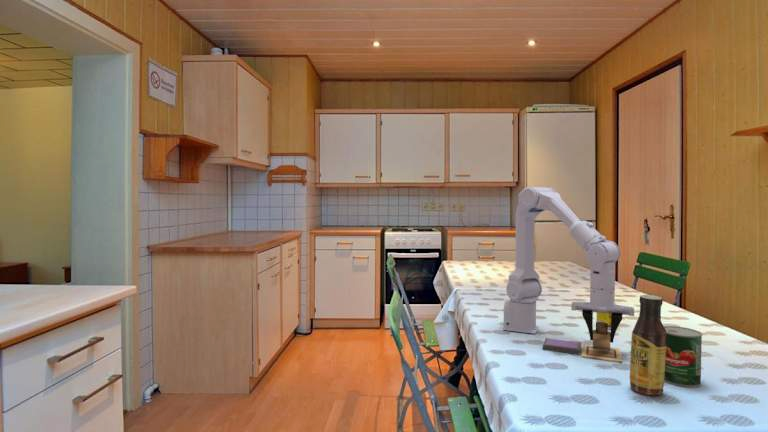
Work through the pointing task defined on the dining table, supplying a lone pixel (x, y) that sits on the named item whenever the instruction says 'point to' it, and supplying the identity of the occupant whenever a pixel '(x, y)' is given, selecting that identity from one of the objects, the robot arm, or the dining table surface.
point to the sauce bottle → (648, 348)
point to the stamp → (601, 337)
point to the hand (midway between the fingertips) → (601, 340)
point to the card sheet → (601, 354)
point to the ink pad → (562, 346)
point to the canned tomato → (683, 356)
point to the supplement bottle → (604, 318)
